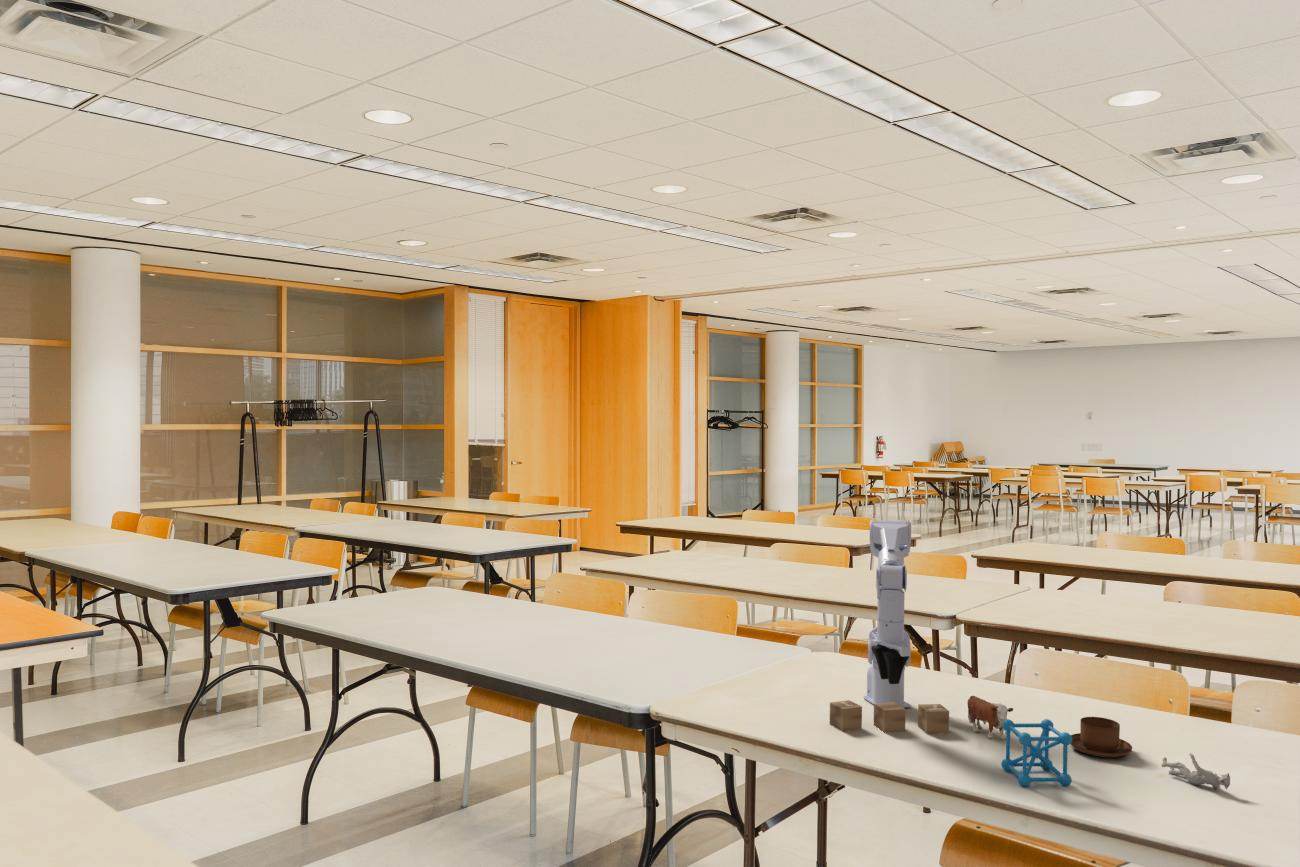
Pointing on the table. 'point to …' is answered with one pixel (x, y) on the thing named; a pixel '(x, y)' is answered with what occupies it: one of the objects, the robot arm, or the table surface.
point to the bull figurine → (987, 715)
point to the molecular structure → (1036, 752)
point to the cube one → (845, 715)
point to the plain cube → (889, 717)
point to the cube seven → (933, 718)
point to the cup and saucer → (1100, 738)
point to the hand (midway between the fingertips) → (889, 681)
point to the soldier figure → (1197, 774)
